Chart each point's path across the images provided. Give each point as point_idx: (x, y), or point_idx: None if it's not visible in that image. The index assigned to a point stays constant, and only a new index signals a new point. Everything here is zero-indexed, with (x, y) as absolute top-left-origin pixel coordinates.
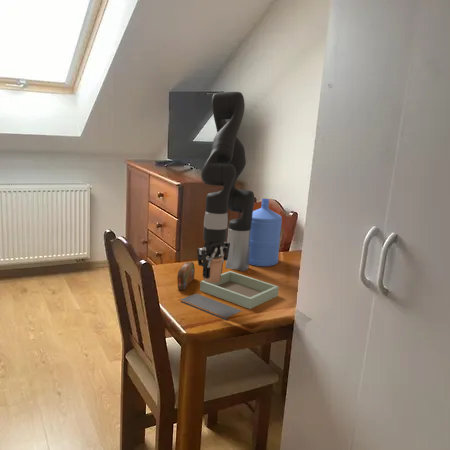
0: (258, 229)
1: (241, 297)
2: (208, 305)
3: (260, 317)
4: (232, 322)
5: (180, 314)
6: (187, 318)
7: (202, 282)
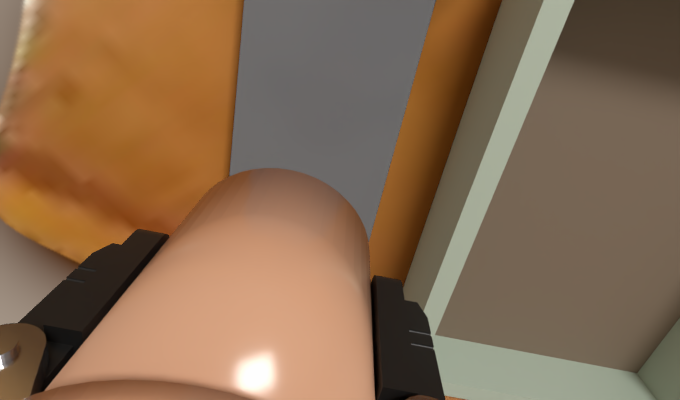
0: None
1: None
2: (293, 149)
3: None
4: None
5: (97, 42)
6: (91, 111)
7: None
